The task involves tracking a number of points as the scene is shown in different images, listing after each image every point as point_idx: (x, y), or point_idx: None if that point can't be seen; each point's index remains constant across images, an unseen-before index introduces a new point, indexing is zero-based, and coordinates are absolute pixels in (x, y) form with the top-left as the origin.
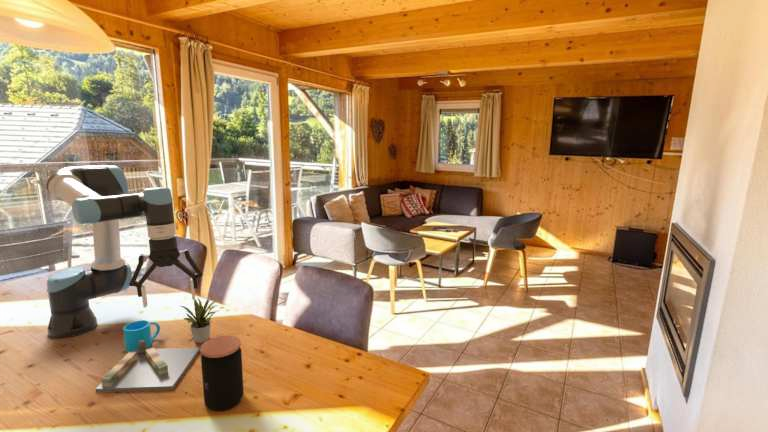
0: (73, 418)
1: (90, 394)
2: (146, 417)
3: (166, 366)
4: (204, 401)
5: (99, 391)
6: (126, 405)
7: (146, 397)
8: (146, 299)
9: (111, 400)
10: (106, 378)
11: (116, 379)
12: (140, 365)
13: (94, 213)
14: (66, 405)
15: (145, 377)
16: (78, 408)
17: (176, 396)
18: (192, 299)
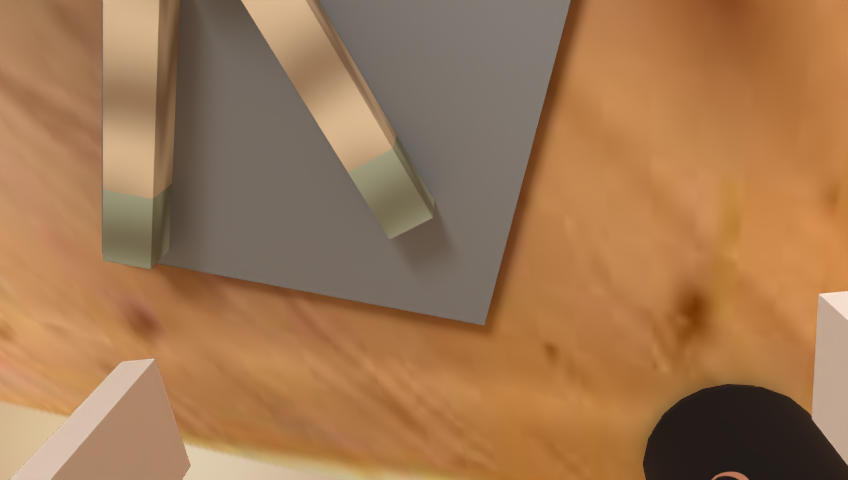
0: None
1: (93, 252)
2: (414, 461)
3: (427, 218)
4: (646, 477)
5: None
6: (303, 372)
7: (373, 340)
8: (123, 448)
9: (220, 322)
10: (128, 260)
11: (169, 203)
12: (239, 68)
13: None
14: (35, 308)
15: (319, 213)
16: (103, 341)
17: (509, 367)
18: (815, 421)
